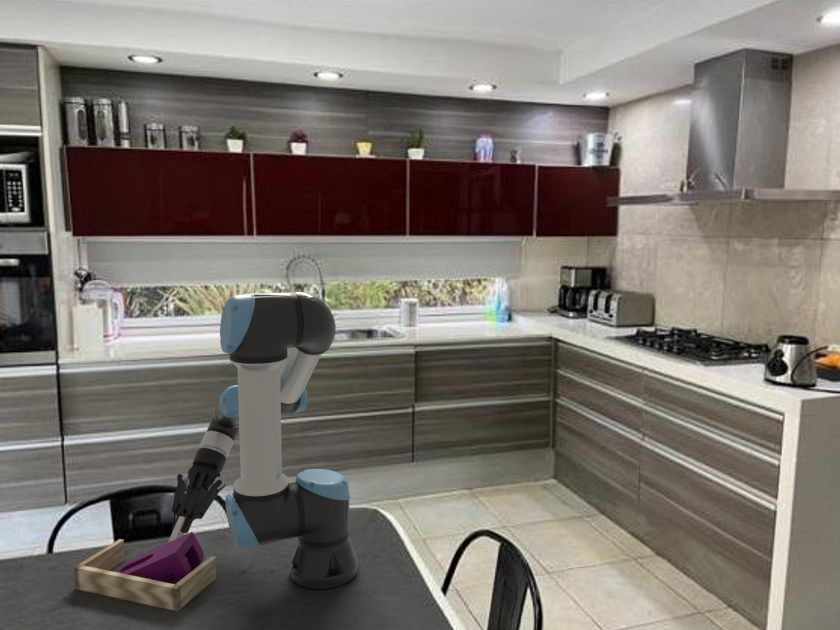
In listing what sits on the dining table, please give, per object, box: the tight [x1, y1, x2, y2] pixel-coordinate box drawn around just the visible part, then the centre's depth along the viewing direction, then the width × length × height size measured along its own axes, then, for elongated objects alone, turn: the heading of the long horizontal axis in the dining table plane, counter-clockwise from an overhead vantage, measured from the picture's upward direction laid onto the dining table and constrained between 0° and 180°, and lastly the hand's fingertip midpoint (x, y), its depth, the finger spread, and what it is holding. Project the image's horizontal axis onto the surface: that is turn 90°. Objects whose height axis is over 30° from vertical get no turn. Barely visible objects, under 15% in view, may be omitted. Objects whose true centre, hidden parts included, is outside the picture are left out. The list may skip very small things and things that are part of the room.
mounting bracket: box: [115, 531, 205, 584], centre depth 141 cm, size 9×8×18 cm
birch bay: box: [73, 538, 217, 612], centre depth 140 cm, size 26×13×5 cm, turn 72°
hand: (173, 545), depth 149 cm, fingers closed
